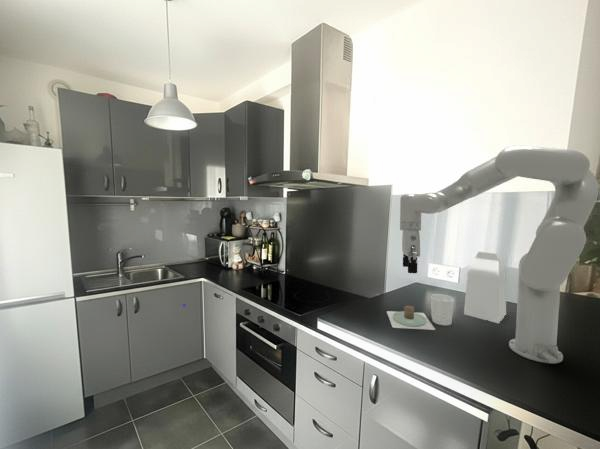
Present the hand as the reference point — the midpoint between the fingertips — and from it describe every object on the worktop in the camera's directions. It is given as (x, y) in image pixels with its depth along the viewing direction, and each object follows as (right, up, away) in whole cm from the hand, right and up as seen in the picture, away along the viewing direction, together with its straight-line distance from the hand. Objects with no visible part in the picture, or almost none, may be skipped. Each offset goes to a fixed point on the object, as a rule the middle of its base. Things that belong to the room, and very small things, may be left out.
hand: (409, 269), depth 106 cm
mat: (0, -21, +1) cm, 21 cm away
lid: (0, -20, +1) cm, 20 cm away
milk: (+33, -20, +6) cm, 39 cm away
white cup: (+12, -21, -1) cm, 24 cm away
